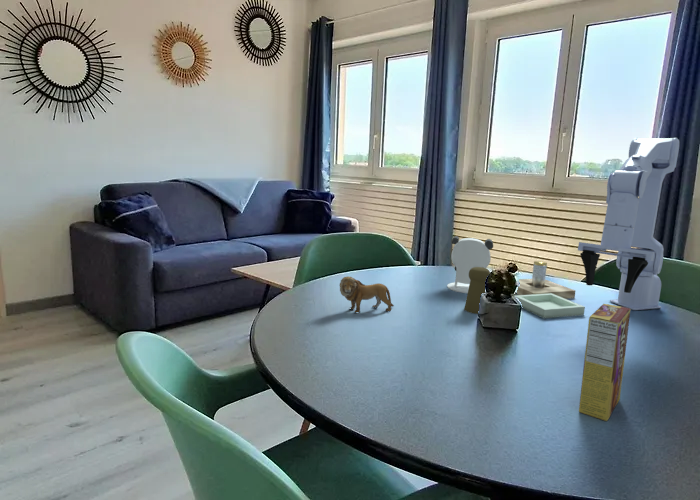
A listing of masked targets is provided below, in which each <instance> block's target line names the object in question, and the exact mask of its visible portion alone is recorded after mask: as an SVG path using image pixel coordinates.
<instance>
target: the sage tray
mask: <svg viewBox="0 0 700 500" xmlns="http://www.w3.org/2000/svg"><path fill="white" fill-rule="evenodd" d="M515 296H516V297H517V298H518V299H519V301H520V302H521V304H522V307H523V308H522V309H524V310H526V311H527V312H529V313H531V314H534V315H536V316H538V317H540V318H542V319H551V318H552V319H553V318H554V319H555V318H564V317H565V318H566V317H576V316H577V317H579V316H584V315H585V311H586V310H585V309H586V306H584V305H581V304H580V303H576V302H575V301H572V300H569V299H564V298H562V297H559V296H557V295H554V294H552V293H548V294H532V295H518V294H516V295H515Z"/></svg>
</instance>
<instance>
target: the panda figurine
mask: <svg viewBox="0 0 700 500" xmlns="http://www.w3.org/2000/svg"><path fill="white" fill-rule="evenodd" d="M451 244H452V245H453V248H452V250H451V256H450V257H451V263H452V264H453V266H454V272H455V280H454V282H449V283H448V284H447V285H446V287H447V289H448V290H450V291H452V292H456V293H461V294H462V293H463V294H468V289H469V285H470V278H469V271H470V269H471V268H473V267H483V268H486V269H487V268H488V266H489V265H490V263H491V258H492V257H491V252H490V250H492V249H493V248H494V242H493V240H492V239H491V238H487V239H485V241H482V240H481V239H478V238H475V237H466V238H461V239H460V237H459V236H458V235H454V236H453V237H452V239H451Z"/></svg>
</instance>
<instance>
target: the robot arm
mask: <svg viewBox="0 0 700 500" xmlns="http://www.w3.org/2000/svg"><path fill="white" fill-rule="evenodd" d="M679 149H680V139H678V137H670V138H669V137H668V138H665V137H663V138H662V137H661V138H660V137H658V138H653V137H651V138H649V137H648V138H647V137H646V138H641V137H639V138H638V137H634V138H633V139H632V140H631V142H630V144H629V148H628V158H627V159H626V160H625V161H624V162H623V164H622V165H621V166H620V168H619V170H617V169H616V170H614V172H611V173H610V174H609V176H608V178H607V182H606V185H607V186H606V199H605V201H606V206H607V207H606V211H605V217H604V224H603V228H602V233H601V234H602V235H601V241H600V244H595V243H591V242H590V243H589V242H580V241H579V242H578V247H577V251H580V258H581V262H582V263H583V267H584V272H585V281H586V283H585V284H586V285H587V286H593V285H594V282H595V276H596V275H595V274H596V271H597V270H596V269H597V266H598V265H597V264H598V262H599V259H600V256H601V255H608V256H613V257H614V256H615V257H616V261H615V264H616V267H617V269H618V270H619V271H620V273H621V277H620V283H619V288H618V296H617V299H610V300H609V302H610V303H611V304H612V303H613V304H616V305H617V306H618V305H619V306H620V307H625V308H630V309H631V310H633V311H640V310H642V311H643V310H656V309H661V308H662V306H661V305H659V303H660V302H659V301H660V296H661V289H662V281H661V278H660V277H659V276H658V274H660V273H661V270H662V267H663V263H664V262H663V261H664V245H663V244H662V243H661V242H660V241H658V240H657V239H656V238H655V237H654V233H655V228H656V222H657V215H658V211H659V210H658V209H659V203H660V200H661V199H660V198H661V192H662V186H663V182H664V179H665V177H666V176H667V174H670V173H672V172H675V168H677V163H678V162H677V161H678V158H679V157H678V156H679V151H680V150H679ZM607 250H608V251H615V252H617V253H614V252H607Z"/></svg>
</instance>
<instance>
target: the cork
mask: <svg viewBox="0 0 700 500" xmlns="http://www.w3.org/2000/svg"><path fill="white" fill-rule="evenodd" d="M489 274H490V275H491V271H490V270H489V268H487V267H486V268H483V267H473V268H471V269H470V271H469V278H470V285H469V289H468V293H466V299H465V303H464V307H463V310H464V311H465V312H467V313H470V314H474V315H479V314H478V311H479V303H480V296H481V294H482V293H485V281H486V278H487V276H488V275H489Z"/></svg>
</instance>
